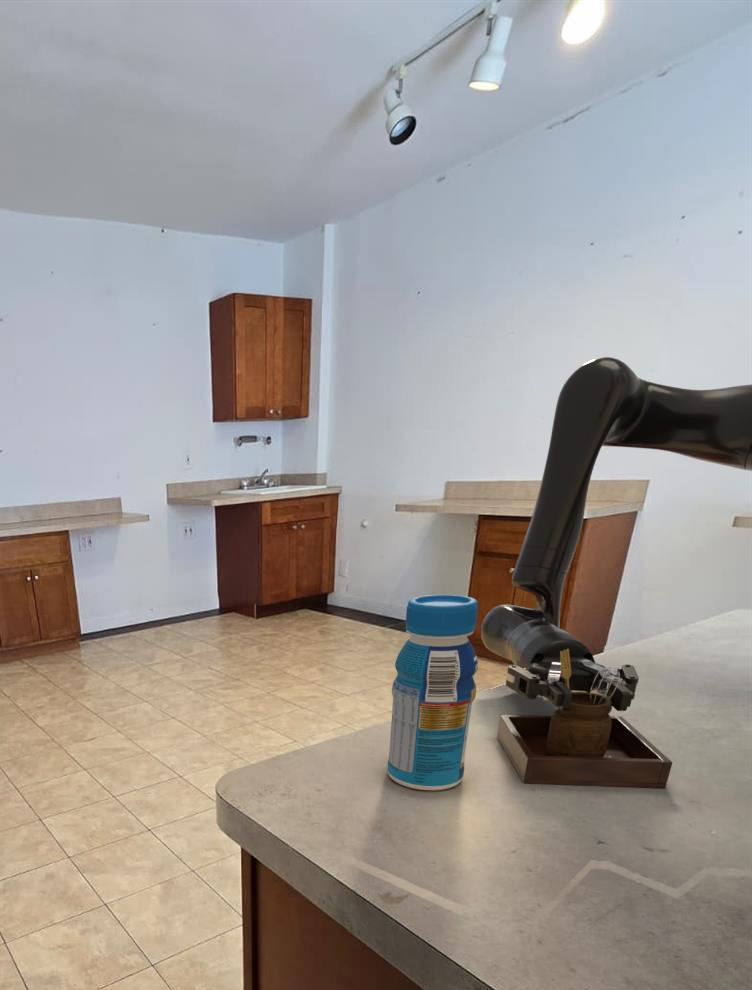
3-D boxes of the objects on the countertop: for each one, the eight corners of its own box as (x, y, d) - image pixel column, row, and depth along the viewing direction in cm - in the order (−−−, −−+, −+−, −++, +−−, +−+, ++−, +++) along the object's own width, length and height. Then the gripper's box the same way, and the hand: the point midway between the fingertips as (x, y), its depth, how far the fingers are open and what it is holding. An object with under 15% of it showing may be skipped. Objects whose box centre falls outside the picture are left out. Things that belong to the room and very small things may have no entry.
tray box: (616, 738, 79) (621, 716, 77) (665, 788, 67) (673, 762, 65) (496, 736, 82) (500, 714, 81) (523, 783, 70) (527, 758, 69)
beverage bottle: (370, 777, 74) (382, 603, 65) (410, 755, 78) (426, 590, 70) (439, 800, 68) (461, 611, 59) (478, 775, 72) (503, 596, 64)
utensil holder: (586, 771, 70) (608, 666, 65) (531, 754, 75) (548, 655, 70) (615, 756, 73) (638, 654, 68) (560, 741, 78) (578, 644, 73)
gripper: (494, 632, 84) (528, 668, 69) (618, 630, 80) (682, 668, 65) (487, 686, 87) (517, 733, 72) (605, 687, 83) (663, 735, 68)
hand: (595, 701), depth 69 cm, fingers closed on utensil holder, 5 cm apart
